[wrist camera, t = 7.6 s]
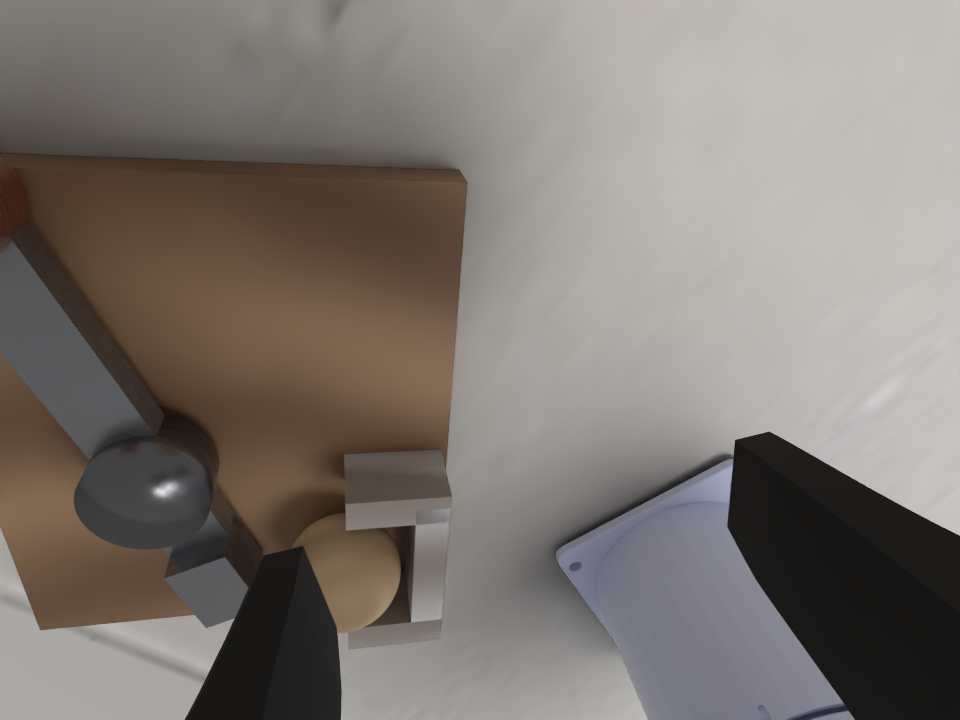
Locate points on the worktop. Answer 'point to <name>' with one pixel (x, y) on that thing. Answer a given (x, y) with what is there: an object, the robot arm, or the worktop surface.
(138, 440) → the lever
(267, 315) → the nutcracker base
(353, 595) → the tan ball
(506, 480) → the worktop surface
